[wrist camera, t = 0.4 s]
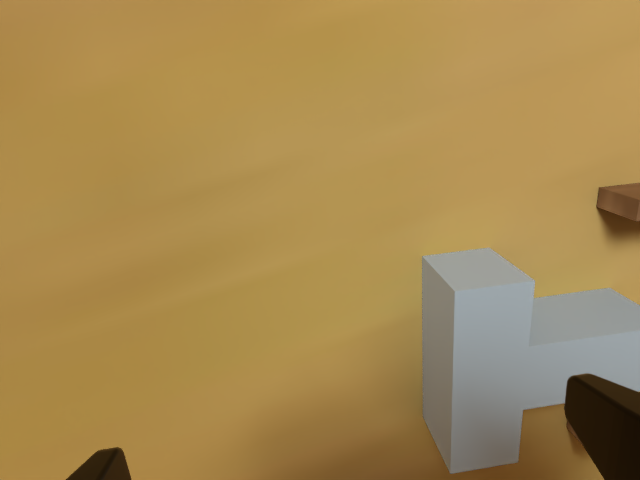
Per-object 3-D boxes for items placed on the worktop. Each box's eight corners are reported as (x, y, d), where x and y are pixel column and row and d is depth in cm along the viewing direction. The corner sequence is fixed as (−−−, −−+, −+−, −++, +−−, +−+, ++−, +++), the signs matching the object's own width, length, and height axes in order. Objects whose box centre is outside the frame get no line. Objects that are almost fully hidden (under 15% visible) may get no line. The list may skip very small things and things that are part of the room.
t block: (593, 389, 26) (648, 440, 23) (422, 416, 25) (450, 474, 22) (618, 231, 23) (687, 260, 19) (422, 256, 22) (454, 291, 18)
